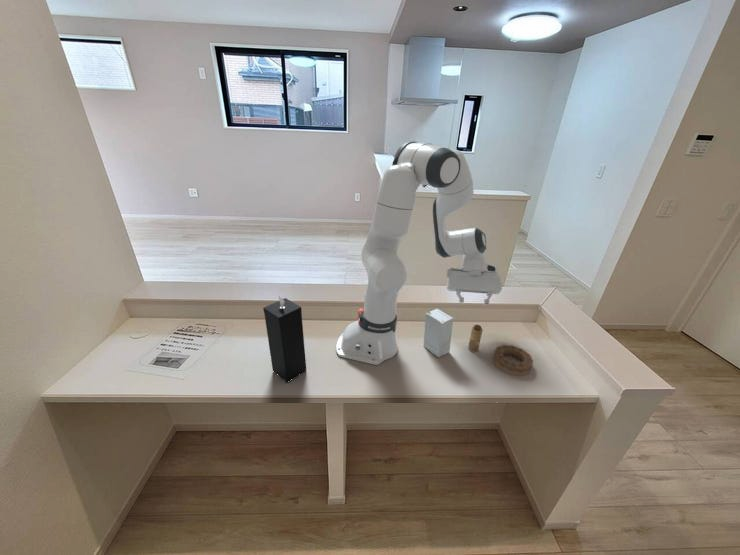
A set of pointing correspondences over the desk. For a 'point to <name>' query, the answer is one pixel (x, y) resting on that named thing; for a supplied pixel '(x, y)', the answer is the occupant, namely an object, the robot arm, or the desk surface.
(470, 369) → the desk surface
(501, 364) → the brown faceted ring
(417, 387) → the desk surface
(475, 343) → the wooden peg
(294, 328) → the square furniture leg
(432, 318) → the skincare box
